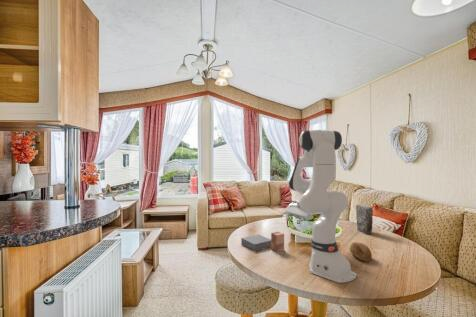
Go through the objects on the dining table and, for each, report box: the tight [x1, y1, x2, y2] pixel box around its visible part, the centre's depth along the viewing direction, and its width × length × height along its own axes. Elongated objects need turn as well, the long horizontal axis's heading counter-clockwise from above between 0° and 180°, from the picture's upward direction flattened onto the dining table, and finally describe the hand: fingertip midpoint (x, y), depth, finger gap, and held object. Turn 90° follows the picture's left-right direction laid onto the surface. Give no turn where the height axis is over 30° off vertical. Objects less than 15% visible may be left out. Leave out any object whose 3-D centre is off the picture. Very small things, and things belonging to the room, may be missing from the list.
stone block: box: [355, 204, 374, 236], centre depth 191 cm, size 13×7×20 cm, turn 11°
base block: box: [240, 234, 271, 252], centre depth 161 cm, size 14×14×4 cm
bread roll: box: [349, 242, 373, 262], centre depth 142 cm, size 10×15×8 cm, turn 3°
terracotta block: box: [270, 231, 285, 253], centre depth 154 cm, size 6×6×10 cm
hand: (292, 221), depth 161 cm, fingers open, 8 cm apart
